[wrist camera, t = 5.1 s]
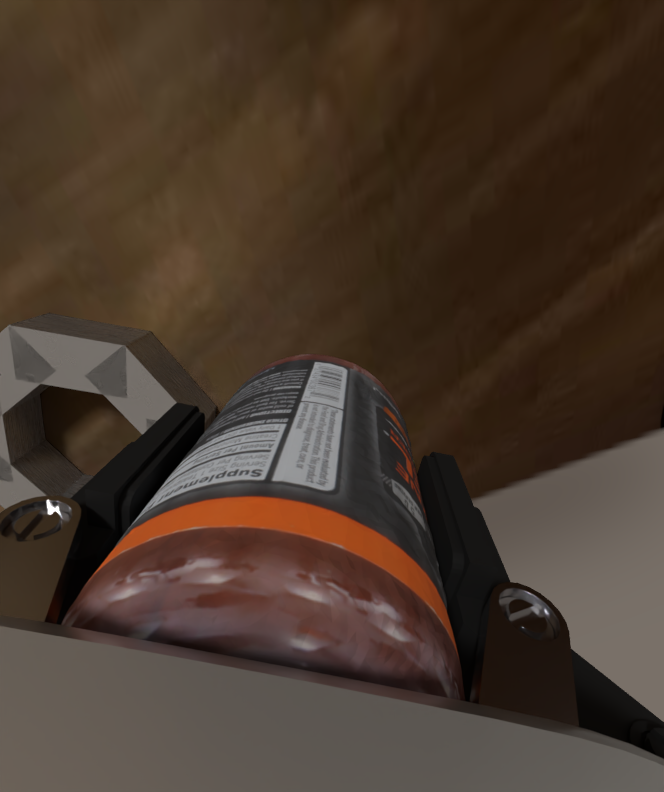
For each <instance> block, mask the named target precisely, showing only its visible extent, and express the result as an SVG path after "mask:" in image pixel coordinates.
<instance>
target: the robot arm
mask: <svg viewBox="0 0 664 792" xmlns="http://www.w3.org/2000/svg"><path fill="white" fill-rule="evenodd" d="M204 429H205V414H204V413H202V412H199V408H198V406H193V405H187V404H182V403H176V404H174V405H173V406H172V407H171V408H170V409H169V410H168V411H167V412H166V413H165V414H164V415H163V416H162V417H161V418H160V419H159V420H157V421H156V422H155V423H154V424H153V425H152V426H151V427H150V428H149V429H148V430H147V431H146V432H145V433H144V434H143V435H142V436H140V437H139V438H138V439H137V440H136V441H135V442H131V443H130V444H128V445H127V446H126V447H125V448H124V449H123V450H122V451H121V452H120V453H119V454H117V455H116V456H115V457H114V458H113V459H112V460H111V461H110V462H109V463H108V464H107V465H106V466H105V467H103V468H102V469H101V470H100V471H99V472H98V473H97V474H96V475H95V476H94V477H93V478H92V479H91V480H89V481H88V482H87V483H86V484H85V485H84V486H83V487H82V488H81V489H80V490H79V491H78V492H77V493H75V494H74V495H73V496H72V497H71V498H67V497H63V496H51V495H48V496H40V497H34V498H30V499H27V500H23V501H21V502H18V503H16V504H14V505H12V506H10V507H8V508H7V509H5V510H4V511H2V512H1V513H0V792H664V722H663V721H661V720H660V719H659V718H658V717H656V716H655V715H654V714H653V713H651V712H650V711H649V710H648V709H646V708H645V707H644V706H642V705H641V704H640V703H639V702H637V701H636V700H635V699H634V698H632V697H631V696H629V694H627V693H626V692H625V691H624V690H622V689H621V688H620V687H619V686H617V685H616V684H615V683H613V682H612V681H611V680H610V679H608V678H607V677H606V676H605V675H603V674H602V673H601V672H600V671H598V670H597V669H595V667H593V666H592V665H591V664H589V663H588V662H587V661H586V660H585V659H583V658H582V657H581V656H579V655H578V654H577V653H575V652H574V651H573V650H572V649H571V646H570V637H569V630H568V627H567V624H566V622H565V620H564V618H563V616H562V615H561V613H560V612H559V610H558V609H557V608H556V607H555V606H554V605H553V604H552V603H551V602H550V601H549V600H547V598H545V597H544V596H543V595H541V594H540V593H538V592H537V591H535V590H533V589H531V588H530V587H527V586H524V585H521V584H519V583H512V582H510V580H509V578H508V575H507V573H506V570H505V568H504V565H503V563H502V561H501V558H500V556H499V554H498V551H497V549H496V547H495V544H494V542H493V539H492V537H491V535H490V532H489V530H488V528H487V525H486V523H485V520H484V518H483V516H482V513H481V512H480V510H479V509H478V508H476V507H474V506H473V503H472V501H471V498H470V496H469V493H468V491H467V488H466V486H465V483H464V481H463V478H462V476H461V473H460V471H459V469H458V466H457V464H456V461H455V459H454V457H453V456H451V455H446V454H441V453H436V452H432V453H431V454H430V456H424V457H423V458H422V461H421V464H420V467H419V470H418V474H417V475H418V482H419V485H420V492H421V496H422V501H423V504H424V507H425V512H426V517H427V523H428V527H429V529H430V532H431V534H432V539H433V543H434V548H435V554H436V558H437V561H438V567H439V573H440V577H441V580H442V584H443V588H444V591H445V594H446V600H447V614H448V617H449V621H450V624H451V627H452V631H453V635H454V639H455V643H456V648H457V652H458V656H459V661H460V665H461V670H462V680H463V688H464V695H465V700H466V701H461V700H456V699H451V698H446V697H440V696H435V695H430V694H425V693H420V692H415V691H410V690H405V689H399V688H394V687H389V686H384V685H379V684H374V683H369V682H363V681H358V680H353V679H348V678H343V677H338V676H332V675H327V674H322V673H317V672H311V671H306V670H301V669H296V668H290V667H285V666H280V665H274V664H269V663H264V662H259V661H253V660H248V659H243V658H237V657H232V656H227V655H221V654H216V653H211V652H205V651H200V650H195V649H189V648H184V647H179V646H173V645H168V644H162V643H157V642H151V641H146V640H140V639H135V638H129V637H124V636H118V635H113V634H107V633H102V632H96V631H91V630H85V629H80V628H74V627H69V626H63V625H61V623H62V621H63V619H64V617H65V615H66V613H67V611H68V609H69V608H70V607H71V605H72V604H73V603H74V601H75V600H76V598H77V597H78V595H79V594H80V592H81V591H82V589H83V587H84V586H85V584H86V583H87V582H88V581H89V579H90V578H91V577H92V576H93V574H94V573H95V572H96V571H97V569H98V568H99V567H100V566H101V564H102V563H103V562H104V560H105V559H106V558H107V557H108V555H109V554H110V553H111V551H112V550H113V549H114V548H115V546H116V544H117V543H118V541H119V540H120V539H121V537H122V536H123V535H124V533H125V532H126V531H127V530H128V528H129V527H130V526H131V525H132V523H133V522H134V521H135V520H136V518H137V517H138V516H139V515H140V513H141V512H142V511H143V509H144V508H145V507H146V506H147V504H148V503H149V502H150V501H151V499H152V498H153V497H154V495H155V494H156V493H157V492H158V490H159V489H160V488H161V487H162V485H163V484H164V483H165V481H166V480H167V479H168V477H169V476H170V475H171V474H172V473H173V472H174V470H175V469H176V468H177V467H178V466H179V464H180V463H181V461H182V460H183V458H184V457H185V456H186V455H187V453H188V452H189V451H190V450H191V449H192V448H193V447H194V445H195V444H196V443H197V442H198V440H199V438H200V437H201V436H202V435H203V434H204Z"/></svg>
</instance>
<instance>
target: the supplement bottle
mask: <svg viewBox="0 0 664 792" xmlns="http://www.w3.org/2000/svg"><path fill="white" fill-rule="evenodd" d="M61 625H63V626H69V627H74V628H80V629H85V630H91V631H96V632H102V633H107V634H113V635H118V636H124V637H129V638H135V639H140V640H146V641H151V642H157V643H162V644H168V645H173V646H179V647H184V648H189V649H195V650H200V651H205V652H211V653H216V654H221V655H227V656H232V657H237V658H243V659H248V660H253V661H259V662H264V663H269V664H274V665H280V666H285V667H290V668H296V669H301V670H306V671H311V672H317V673H322V674H327V675H332V676H338V677H343V678H348V679H353V680H358V681H363V682H369V683H374V684H379V685H384V686H389V687H394V688H399V689H405V690H410V691H415V692H420V693H425V694H430V695H435V696H440V697H446V698H451V699H456V700H461V701H466V700H465V695H464V688H463V680H462V670H461V665H460V661H459V656H458V652H457V648H456V643H455V639H454V635H453V631H452V627H451V624H450V621H449V617H448V614H447V600H446V594H445V591H444V588H443V584H442V580H441V577H440V573H439V567H438V561H437V558H436V554H435V548H434V543H433V539H432V534H431V532H430V529H429V527H428V523H427V517H426V512H425V507H424V504H423V501H422V496H421V492H420V485H419V482H418V475H417V472H416V467H415V464H414V461H413V456H412V452H411V443H410V440H409V437H408V432H407V429H406V424H405V422H404V419H403V417H402V416H401V413H400V410H399V408H398V406H397V404H396V402H395V401H394V399H393V397H392V396H391V394H390V393H389V392H388V390H387V389H386V388H385V387H384V385H383V384H382V383H381V382H380V381H378V380H377V379H376V378H375V377H374V376H373V375H372V374H371V373H370V372H368V371H367V370H365V369H363V368H361V367H360V366H358V365H356V364H354V363H351V362H349V361H346V360H342V359H339V358H335V357H331V356H326V355H316V354H306V355H297V356H291V357H288V358H284V359H281V360H278V361H276V362H273V363H271V364H269V365H267V366H265V367H264V368H262V369H261V370H259V371H258V372H256V373H255V374H254V375H253V376H252V377H251V378H250V379H249V380H247V382H245V383H244V384H243V385H242V386H241V387H240V388H239V390H238V391H237V392H236V393H235V394H234V395H233V397H232V398H231V399H230V400H229V402H228V403H227V405H226V406H225V407H224V408H223V410H222V411H221V412H220V413H219V415H218V416H217V417H216V418H215V420H214V421H213V422H212V424H211V425H210V426H209V427H208V428H207V430H206V431H205V432H204V434H203V435H202V436H201V437H200V438H199V440H198V442H197V443H196V444H195V445H194V447H193V448H192V449H191V450H190V451H189V452H188V453H187V455H186V456H185V457H184V458H183V460H182V461H181V463H180V464H179V466H178V467H177V468H176V469H175V470H174V472H173V473H172V474H171V475H170V476H169V477H168V479H167V480H166V481H165V483H164V484H163V485H162V487H161V488H160V489H159V490H158V492H157V493H156V494H155V495H154V497H153V498H152V499H151V501H150V502H149V503H148V504H147V506H146V507H145V508H144V509H143V511H142V512H141V513H140V515H139V516H138V517H137V518H136V520H135V521H134V522H133V523H132V525H131V526H130V527H129V528H128V530H127V531H126V532H125V533H124V535H123V536H122V537H121V539H120V540H119V541H118V543H117V544H116V546H115V548H114V549H113V550H112V551H111V553H110V554H109V555H108V557H107V558H106V559H105V560H104V562H103V563H102V564H101V566H100V567H99V568H98V569H97V571H96V572H95V573H94V574H93V576H92V577H91V578H90V579H89V581H88V582H87V583H86V584H85V586H84V587H83V589H82V591H81V592H80V594H79V595H78V597H77V598H76V600H75V601H74V603H73V604H72V605H71V607H70V608H69V609H68V611H67V613H66V615H65V617H64V619H63V621H62V623H61Z"/></svg>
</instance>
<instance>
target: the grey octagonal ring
mask: <svg viewBox="0 0 664 792" xmlns="http://www.w3.org/2000/svg"><path fill="white" fill-rule="evenodd" d="M50 385H51V386H57V387H63V388H68V389H74V390H80V391H86V392H92V393H98V394H103V395H104V396H105V397H106V398H107V399H108V400H109V401H110V402H111V403H112V404H113V405H114V406H115V407H116V408H117V409H118V410H119V411H120V412H121V413H122V414H123V415H124V416H125V417H126V418H127V419H128V420H129V421H130V422H131V423H132V424H133V425H134V426H135V427H136V428H137V429H138V430H139V431H140V433H141V434H142V435H143V434H144V433H145V432H146V431H147V430H148V429H149V428H150V427H151V426H152V425H153V424H154V423H155V422H156V421H157V420H159V419H160V418H161V417H162V416H163V415H164V414H165V413H166V412H167V411H168V410H169V409H170V408H171V407H172V406H173V405H174V404H176V403H182V404H187V405H193V406H198V408H199V412H202V413H204V414H205V429H204V432H205V431H206V430H207V428H208V427H209V426H210V425H211V424H212V422H213V421H214V420H215V417H216V405H215V404H214V403H213V402H212V401H211V400H210V399H209V397H208V396H207V395H206V394H205V393H204V392H203V391H202V389H201V388H200V387H199V386H198V385H197V384H196V383H195V382H194V380H193V379H192V378H191V377H190V376H189V375H188V374H187V372H186V371H185V370H184V369H183V368H182V367H181V366H180V364H179V363H178V362H177V361H176V360H175V359H174V358H173V356H172V355H171V354H170V353H169V352H168V351H167V350H166V348H165V347H164V346H163V345H162V344H161V343H160V342H159V341H158V339H157V338H156V337H155V336H154V335H153V334H152V333H151V331H145V330H140V329H134V328H129V327H123V326H117V325H112V324H106V323H101V322H95V321H90V320H84V319H78V318H73V317H67V316H62V315H56V314H51V313H47V314H43V315H40V316H37V317H33V318H30V319H27V320H23V321H20V322H17V323H13V324H10V325H8V327H6V328H5V329H4V330H3V331H2V332H1V333H0V505H1V506H2V507H4V508H5V509H7V508H8V507H10V506H12V505H14V504H16V503H18V502H21V501H23V500H27V499H30V498H34V497H40V496H48V495H51V496H63V497H67V498H71V497H72V496H73V495H74V494H75V493H77V492H78V491H79V490H80V489H81V488H82V487H83V486H84V485H85V484H86V483H87V482H88V481H89V480H91V479H92V478H93V477H94V476H90V475H84V474H83V473H82V472H80V471H79V470H78V469H77V468H76V467H75V466H74V465H73V464H72V463H71V462H70V461H68V460H67V459H66V458H65V457H64V456H63V455H62V454H61V453H60V452H59V451H57V450H56V449H55V448H54V447H53V446H52V445H51V444H50V443H49V442H48V441H47V440H45V433H44V424H43V416H42V408H41V400H40V393H42V392H43V391H44V390H45V389H47V388H48V387H49V386H50Z"/></svg>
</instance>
